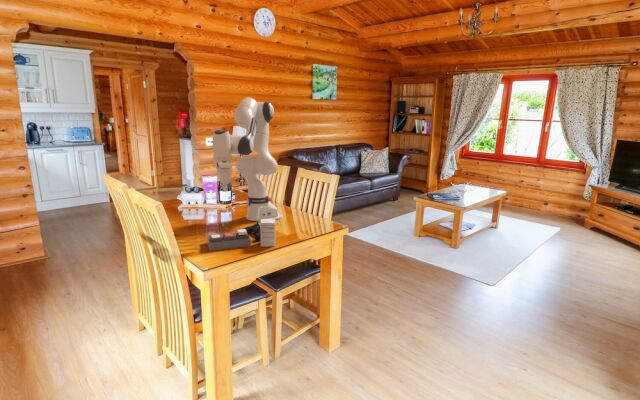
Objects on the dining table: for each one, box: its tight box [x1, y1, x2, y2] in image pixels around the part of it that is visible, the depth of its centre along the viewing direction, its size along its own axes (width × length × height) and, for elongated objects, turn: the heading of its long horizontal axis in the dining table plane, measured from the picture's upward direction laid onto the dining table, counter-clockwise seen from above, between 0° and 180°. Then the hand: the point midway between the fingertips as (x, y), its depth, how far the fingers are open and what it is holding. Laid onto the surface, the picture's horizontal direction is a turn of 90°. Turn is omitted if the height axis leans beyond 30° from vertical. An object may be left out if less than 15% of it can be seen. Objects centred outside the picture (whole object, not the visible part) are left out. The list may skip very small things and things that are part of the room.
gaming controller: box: [242, 221, 261, 242], centre depth 201 cm, size 17×6×10 cm
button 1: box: [210, 234, 220, 239], centre depth 183 cm, size 4×4×2 cm
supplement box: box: [259, 219, 276, 248], centre depth 189 cm, size 7×7×13 cm
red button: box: [223, 232, 234, 237], centre depth 185 cm, size 4×4×2 cm
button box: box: [206, 231, 252, 252], centre depth 188 cm, size 20×12×6 cm, turn 113°
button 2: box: [236, 228, 247, 235], centre depth 187 cm, size 4×4×2 cm
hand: (223, 188), depth 192 cm, fingers open, 8 cm apart
